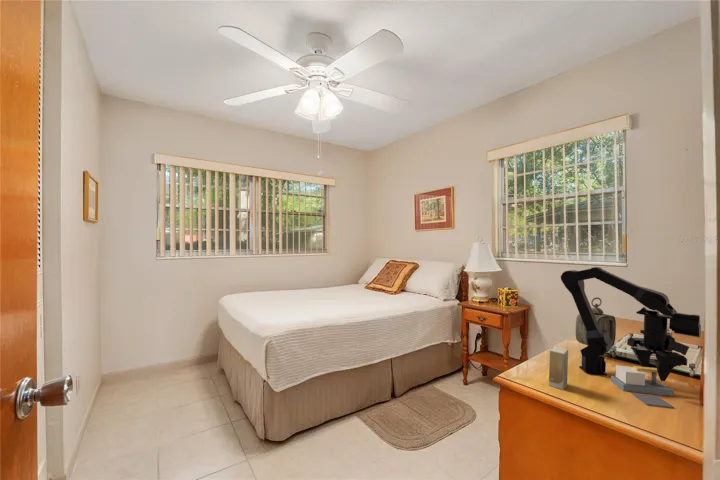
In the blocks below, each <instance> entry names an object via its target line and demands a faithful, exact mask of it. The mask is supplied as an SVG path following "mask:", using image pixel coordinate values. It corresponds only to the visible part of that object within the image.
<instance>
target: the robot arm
mask: <svg viewBox="0 0 720 480" xmlns="http://www.w3.org/2000/svg"><path fill="white" fill-rule="evenodd" d="M591 279H596V280H598V281H600V282H603V283H604V284H607V285H608V286H610V287H613V288H614V289H617V290H619V291H621V292H622V293H625V294H627V295H629V296H630V297H633V299H635V300H636V301H637V302H639V304H641V305H642V306H643V307H642V308H641V309H639V310H638V311H636V315H641V316H643V329H640V334H642V335H643V338H641V337H633V336H632V337H629V338H627V341H626V343H627V346H629V347H630V349H631V350H632V352H633V353H634V355H635V357H636V358H637V361H638V363H639V364H640V365H639V366H640V367H650V360H651V356H652V355H653V354H654V355H655V358H656V359H655V358H654V359H653V360H654V364H655V368H657V371H658V372H657V375H658V377H659V380H660V381H661V382H666V380H667V378H668V376H669V375H670V373H671V372H672V370H673V369H674V368H676V367H681V366H686V367H687V366H688V358H687V357H686V355H687V353H688V352H689V348H690V346H688V345H686V344H683V343H681V342H678V341H676V338H675V337H673V336H672V335H671V334H669V333H668V325H669V330H671V332H672V331H673V333H674V334H676V335H677V334H679V335H683V336H690V337H695V338H701V334H702V324H701V315H700V314H688V313H681V312H678V311H677V310H676V309H675V308H674V306H672V305H671V303H670V299H669V297H668V295H667V294H666V293H664V292H661V291H657V290H655V289H651V288H648V287H643V286H640V285H637V284H635V283H632V282H631V281H629V280H626V279H624V278H623V277H620V276H618V275H615V274H614V273H611V272H609V271H607V270H605V269H603V268H602V267H598V266H595V267H594V266H593V267H590V268H588V269H582V270H575V269H574V270H573V269H572V270H566V271H563V272H562V274H561V275H560V281H561V282H562V284H563V285H564V287H565V288H566V290H568V292H569V293H570V295H571V296H572V299H573V301H574V304H575V306H576V309H577V311H578V315H579V314H580V316H581V319H582V321H583V323H584V326H585V328H586V339H587V344H588V345H586V346H585V347H584V348H582V349H580V351H579V352H580V353H581V365H579V369H580V370H582V371H583V372H584V373H585V374H587V375H594V376H596V375H597V376H602V377H603V376H605V377H606V376H607V375H608V374H607V371H606V370H607V369H606V368H607V366H606V365H607V362H606V361H605V357H604V355H605V354H608V353H607V352H608V351H609V350H610V351H611V349H612V347H613V346H612V345H611V343H613V342H612V341H611V339H610V337H609V333H608V332H603V331H602V330H601V329H600V327H599V325H598V323H597V320H596V318H595V315H594V313H593V311H592V308H593V307H592V305H591V302H590V301H589V299H588V296H587V295H586V290H585V280H591ZM668 319H669V324H668Z"/></svg>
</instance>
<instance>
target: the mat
mask: <svg viewBox="0 0 720 480" xmlns="http://www.w3.org/2000/svg"><path fill="white" fill-rule="evenodd" d="M631 395H632V396H634V397H636V399H638V400H639V401H641V402H642V403H643V404H644V405H646V406H651V407H652V406H653V407H659V408H668V409H675V406H674V405H673V404H670V403H669V402H667V401H666V400H665V399H663V398H662V397H660V396H659V395H657V394H648V393H639V392H631Z"/></svg>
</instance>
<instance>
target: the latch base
mask: <svg viewBox="0 0 720 480" xmlns="http://www.w3.org/2000/svg"><path fill="white" fill-rule="evenodd" d="M610 382H612V384H613V385H615V386H617V387H618V388H619V389H621V390H622V391H624V392H631V393H639V394H648V395H657V396H667V395H670V396H669V397H674V389H673V388H671V387H669V386H668V385H666V384H664V383H663V382H662V381H661V382H660V381H659V380H657V379H656V384H653V383H651V379H646V378H645V386H642V385H633V384H625V383H624V382H623V381H621V380H620V379H618V378H617V377H616V375H611V376H610Z"/></svg>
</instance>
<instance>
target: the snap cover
mask: <svg viewBox="0 0 720 480" xmlns="http://www.w3.org/2000/svg"><path fill="white" fill-rule="evenodd" d="M615 376H616V377H617V378H618V379H620V380H621V381H623V382H624V383H625V384H633V385H642V386H645V379H646V373H645V372H644V371H638V370H636V369H634V366H626V365H615Z"/></svg>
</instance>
